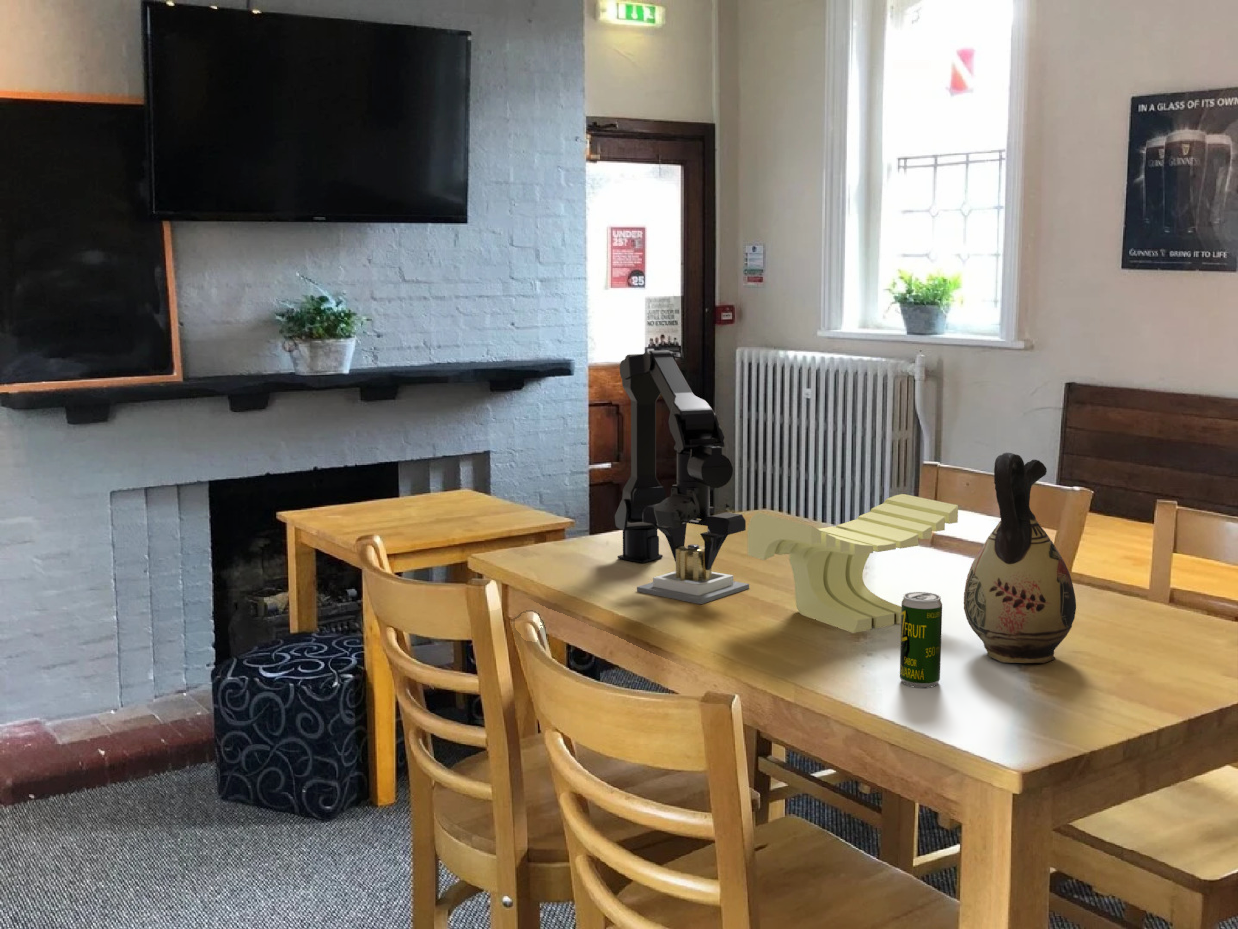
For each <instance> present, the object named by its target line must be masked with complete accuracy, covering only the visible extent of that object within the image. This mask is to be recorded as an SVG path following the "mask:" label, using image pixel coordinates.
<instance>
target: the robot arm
mask: <svg viewBox="0 0 1238 929" xmlns="http://www.w3.org/2000/svg"><path fill="white" fill-rule="evenodd" d="M619 375H620V378H621V381H622V382H621V384H622V387H623V390H624V392H625V393H626V394H627V396H628V397H629V399H630V471H631V472H630V477H629V478H628V480H627V481H626V483H625V485H624V487H623V488H622V495H621V496H622V498H621V500H620V503H619V504H618V507H617V510H616V512H615V514H614V522H615V528H617V529H619V530H622V554H620V555H617V559H619V560H625V561H630V562H635V563H639V564H641V563H642V564H644V563H647V562H651V561H655V560H659V559H662V558H664V556H663V554H660V537H659V535H658V530H659V531H660V532H661V533H662V534H663V535H664V536H665V538H666V541H667V543H668V544H669V548H670V551H671V554H672V556H673V560H674V562H675V563H676V549H678V547H680V546H683V547H684V546H685V543H686V542H685V541H686V535H687V534H686V533H687V524H691V525H698V526H705V527H707V531H704V532H702V533H701V532H700V537H701V538H702V539H703V541H704V545H703V546H704V562H705V570H710V569H711V567H713V565H714V562H715V561H716V558H717V556H718V554H719V552H720V550H721V547H722V546H723V544H724V542H725V541H726V539H727V537H729V536H730V535H733V534H737V533H741V532H744V531H746V528H747V525H746V522H747V521H746V518H745V517H744V516H743V514H740V513H734V512H727V511H726V512H720V513H717V514H714V513H715V507H714V506H710V505H711V504H710V503H711V502H710V500H711V499H710V498H711V497H710V496H711V494H710V492H711V491H714V490H715V489H719V488H723V487H724V486H726V485H727V484H728V483H729V482H730V480H731V479H732V476H733V472H734V468H733V465H732V462H731V461H730V459H729V458H728V457H727V456H726V455H724V454H723V448H725V442H724V440H725V435H724V433H723V430H722V428H721V425H720V422H719V420H718V417H717V414H716V413H715V412H714V410H713V408H712V407H711V406H710V404H709V403H708V402H707V401H706V400H705V399H703V398H700V397H698V396H696V395H695V394H694V393H693V391H692V388H691V387H690V385H689V384H688V381H687V380H686V378H685V377H684V375H683V373H682V371H681V369H680V368H679V366H678V364H677V362H676V356H675V353H674V352H673V351H670V350H669V349H665V350H664V349H663V350H649V351H647V352H644V353H640V354H639V353H638V354H637V353H635V354H634V353H633V354H627V355H625V357H624V359H623V360H621V361H620V363H619ZM660 396H662V398H663V400H664V402H665V404H666V405H667V407H668V409H669V412H670V413H669V418H668V420H667V421H668V422H667V423H668V426H669V428H668V429H669V431H670V434H671V435H672V438H673V440H674V442H675V444H674V446H673V449H674V450H675V451H676V484H672V486H671V489H670V496H669V497H666V494H667V493H666V489H665V487H664V486H662V485H661V482H659V480H658V478H657V443H656V442H657V400H658V399H659V398H660ZM711 514H714V515H711Z"/></svg>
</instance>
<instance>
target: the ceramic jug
mask: <svg viewBox="0 0 1238 929" xmlns="http://www.w3.org/2000/svg"><path fill="white" fill-rule="evenodd" d="M993 467H994V469H993V478H994V480H993V483H994V489H995V496H996V501H997V505H998V508H999V516H1000V521H998V523H997V525H996V527H994V529H993V530H992V532H991V533H990V535H988V537H987V538H986V540H985V542H984V543H983V545H982V546H981V547H980V550H979V551H978V552H977V553H976V556H975V558H974V560H973V561H972V563H971V565H970V568H969V571H968V573H967V576H966V580H965V586H964V592H963V610H964V614H965V617H966V618H965V619H966V620H967V623H968V624H969V626H970V628H971V629H972V631H973V632H974V633H975V634H976V635H977V637H978V638H979V639H980V640H981V641H982V643H983V646H984V649H985V651H986V652H987V653H986V654H987V655H988V657H990V658H992V659H994V660H996V661H999V662H1001V663H1005V664H1006V663H1009V664H1011V663H1018V664H1045V663H1048V662H1050V661H1053V660H1055V659H1056V657H1055V655H1054V654H1055V650H1056V648H1058V647H1059V646H1060V644H1061V643H1062V642H1063V641H1064V639H1065V638H1066V637H1067V636H1068V634H1069V632H1070V631H1071V629H1072V626H1073V622H1074V620H1075V617H1076V611H1077V600H1076V593H1075V588H1074V585H1073V581H1072V576H1071V574H1070V571H1069V569H1068V567H1067V564H1066V562H1065V561H1064V559H1063V557H1062V555H1061V553H1060V552H1059V550H1058V549H1057V547H1056V546H1055V544H1054V543H1053V540H1051V538H1050V537H1049V535H1048V534H1047V532H1046V531H1045V530H1044V528H1043V527H1042V526H1041V524H1040V523H1039V522H1038V521H1037V518H1036V515H1035V514H1034V513H1033V512H1032V510H1031V508H1030V502H1031V501H1030V500H1031V492H1032V491H1031V490H1032V487H1033V485H1035V484H1036V483H1037V482H1038V481H1039V480H1040V479H1042V478H1044V477H1046V475H1047V466H1046V465H1045V464H1044V463H1043V462H1042V461H1040V460H1038V459H1032V460H1030V461H1027V462H1026V463H1025V462H1024V460H1023V458H1022V456H1021V455H1019V454H1015V453H1012V452H1004V453H1002V454H1000V455H998V456H997V457H996V458H995V461H994V466H993Z"/></svg>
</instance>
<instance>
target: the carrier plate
mask: <svg viewBox="0 0 1238 929" xmlns="http://www.w3.org/2000/svg"><path fill="white" fill-rule="evenodd" d="M749 589H750V584H749V583H745V582H740V581H734V575H733V574H727V573H722V572H721V573H720V572H715V571H712V575H711V577H709V579H708V580H698V581H692V580H685V581H684V580H681V579H680V578H676V570H675V571H671V572H668V573H667V572H666V573H665V574H661V575H657V576H654V577H653V578H652V582H649V583H646V584H645V583H644V584H641V585H639V586H636V592H637V593H638V592H639V593H642V594H649V595H653V596H658V597H663V598H668V599H673V600H676V601H682V602H687V603H693V604H697V605H703V604H706V603H709V602H712V601H715V600H719V599H721V598H724V597H728V596H730V595H731V596H732V595H734V594H737V593H740V592H743V591H746V590H749Z"/></svg>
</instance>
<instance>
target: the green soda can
mask: <svg viewBox="0 0 1238 929" xmlns="http://www.w3.org/2000/svg"><path fill="white" fill-rule="evenodd" d="M902 598H903V599H902V601H901V607H902V608H901V624H900V647H899V649H900V653H899V654H900V656H899V657H900V658H899V678H900V681H901V683H902V682H903V683H905V684H906V685H905V684H904V685H905V686H907V685H909V686H908V687H911V686H914V687H913V688H916V687H930V686H934V685H936V686H937V685H939V682H940V680H941V657H942V656H941V655H942V623H943V620H942V618H943V603H942V601H941V598H942V597H941V595H939V594H936V593H933V592H927V591H914V592H911V591H910V592H907V593H904V594H903V597H902ZM934 687H935V686H934ZM930 688H931V687H930Z"/></svg>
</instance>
